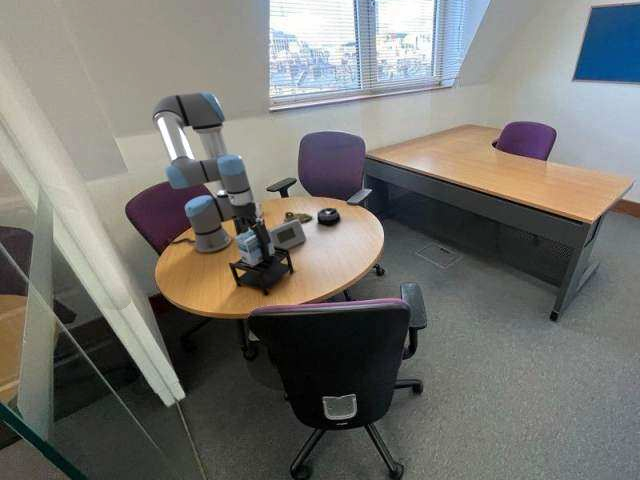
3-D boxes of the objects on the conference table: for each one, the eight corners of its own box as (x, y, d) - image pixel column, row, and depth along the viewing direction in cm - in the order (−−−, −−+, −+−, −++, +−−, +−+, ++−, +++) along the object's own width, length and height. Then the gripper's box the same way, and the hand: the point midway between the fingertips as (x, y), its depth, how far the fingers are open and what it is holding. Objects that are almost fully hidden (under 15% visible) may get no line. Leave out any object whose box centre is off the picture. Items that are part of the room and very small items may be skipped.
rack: (237, 286, 121) (228, 263, 115) (266, 263, 133) (259, 242, 127) (266, 296, 115) (258, 272, 109) (294, 271, 127) (288, 249, 121)
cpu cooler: (341, 209, 162) (329, 217, 155) (342, 219, 165) (331, 227, 158) (326, 205, 167) (313, 213, 159) (327, 215, 170) (315, 223, 162)
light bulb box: (253, 267, 113) (245, 242, 107) (241, 261, 116) (233, 237, 110) (276, 252, 121) (269, 228, 115) (264, 247, 124) (257, 224, 118)
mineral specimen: (253, 212, 177) (250, 202, 174) (265, 212, 177) (262, 202, 173) (242, 222, 167) (239, 212, 163) (255, 222, 166) (252, 212, 163)
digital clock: (275, 255, 138) (269, 234, 132) (269, 246, 145) (264, 226, 139) (309, 243, 145) (305, 223, 140) (302, 235, 152) (298, 216, 146)
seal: (314, 216, 171) (287, 217, 172) (313, 208, 169) (286, 209, 170) (310, 223, 163) (282, 223, 163) (309, 214, 161) (280, 215, 161)
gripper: (213, 201, 107) (232, 256, 119) (256, 211, 100) (272, 267, 112) (230, 193, 113) (247, 246, 125) (272, 201, 105) (286, 256, 117)
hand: (259, 256), depth 118 cm, fingers closed on light bulb box, 7 cm apart
